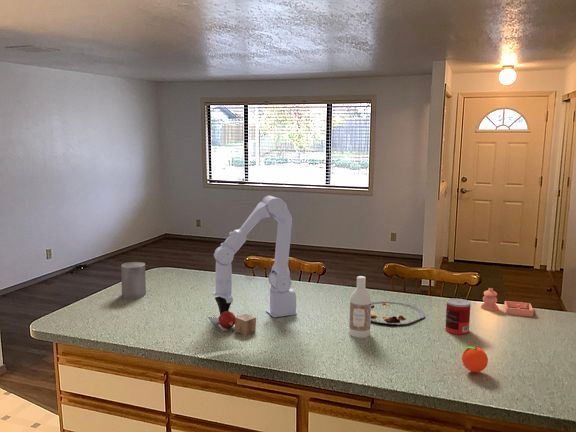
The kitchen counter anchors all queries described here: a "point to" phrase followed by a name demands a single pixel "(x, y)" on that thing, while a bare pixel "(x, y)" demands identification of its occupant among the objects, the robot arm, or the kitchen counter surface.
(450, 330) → the canned food
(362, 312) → the bath foam
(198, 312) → the kitchen counter surface
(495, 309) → the pottery
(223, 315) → the onion
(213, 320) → the letter mat
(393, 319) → the food plate
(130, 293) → the pillar candle
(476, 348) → the clementine
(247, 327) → the walnut block
